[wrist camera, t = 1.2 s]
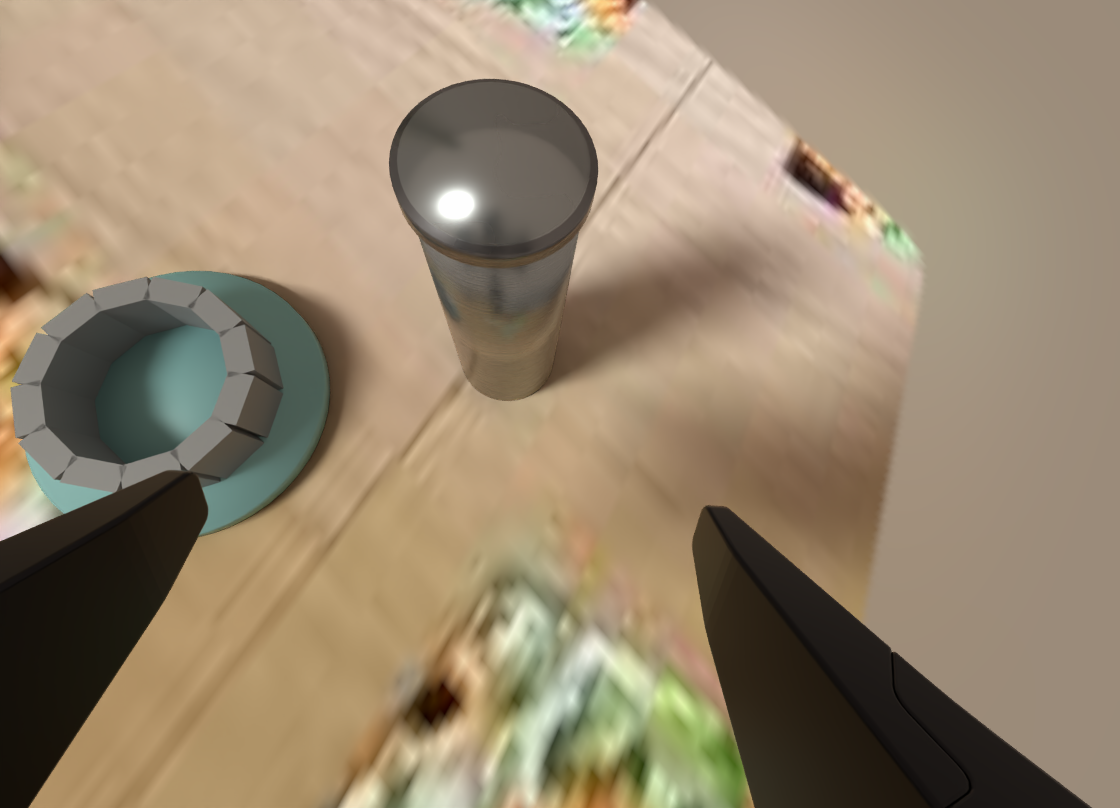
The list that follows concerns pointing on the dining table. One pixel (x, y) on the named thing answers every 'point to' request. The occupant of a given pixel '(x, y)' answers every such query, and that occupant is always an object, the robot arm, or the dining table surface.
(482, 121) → the gray tube
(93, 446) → the collar
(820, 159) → the dining table surface
